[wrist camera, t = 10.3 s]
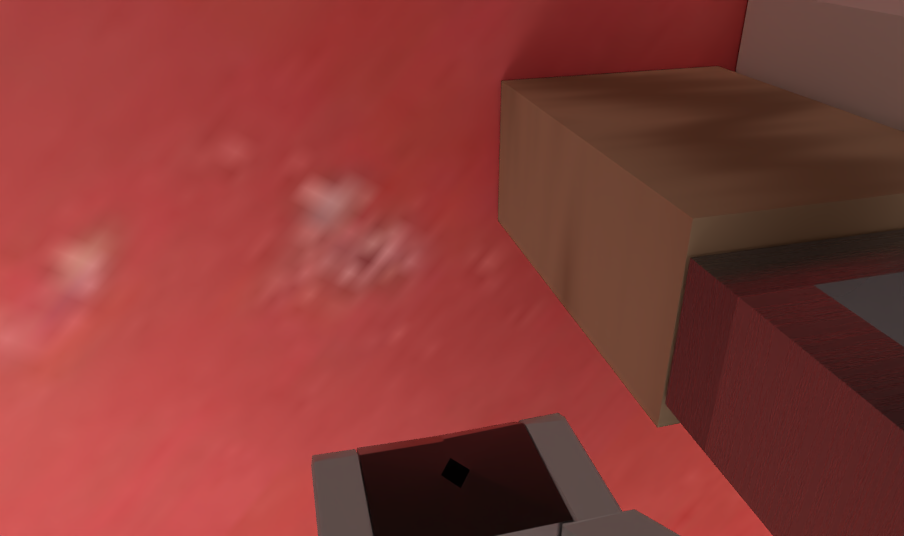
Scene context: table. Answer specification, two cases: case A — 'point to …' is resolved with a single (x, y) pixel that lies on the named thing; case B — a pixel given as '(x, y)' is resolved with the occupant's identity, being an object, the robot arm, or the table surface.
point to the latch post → (676, 193)
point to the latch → (800, 380)
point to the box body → (830, 53)
